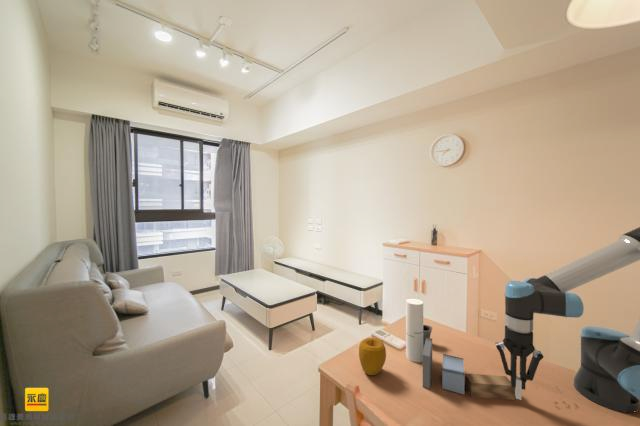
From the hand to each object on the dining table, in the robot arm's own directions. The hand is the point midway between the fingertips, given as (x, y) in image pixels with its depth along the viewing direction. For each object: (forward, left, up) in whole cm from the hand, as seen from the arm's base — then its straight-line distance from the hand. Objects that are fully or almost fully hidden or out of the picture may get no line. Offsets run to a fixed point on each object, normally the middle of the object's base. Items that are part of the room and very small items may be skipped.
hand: (517, 396), depth 85 cm
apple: (+48, +7, -2) cm, 49 cm away
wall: (+28, 0, -2) cm, 28 cm away
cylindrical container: (+34, -11, -2) cm, 36 cm away
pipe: (+33, -23, -2) cm, 41 cm away
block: (+19, 0, -2) cm, 20 cm away
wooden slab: (+8, -1, -2) cm, 8 cm away
